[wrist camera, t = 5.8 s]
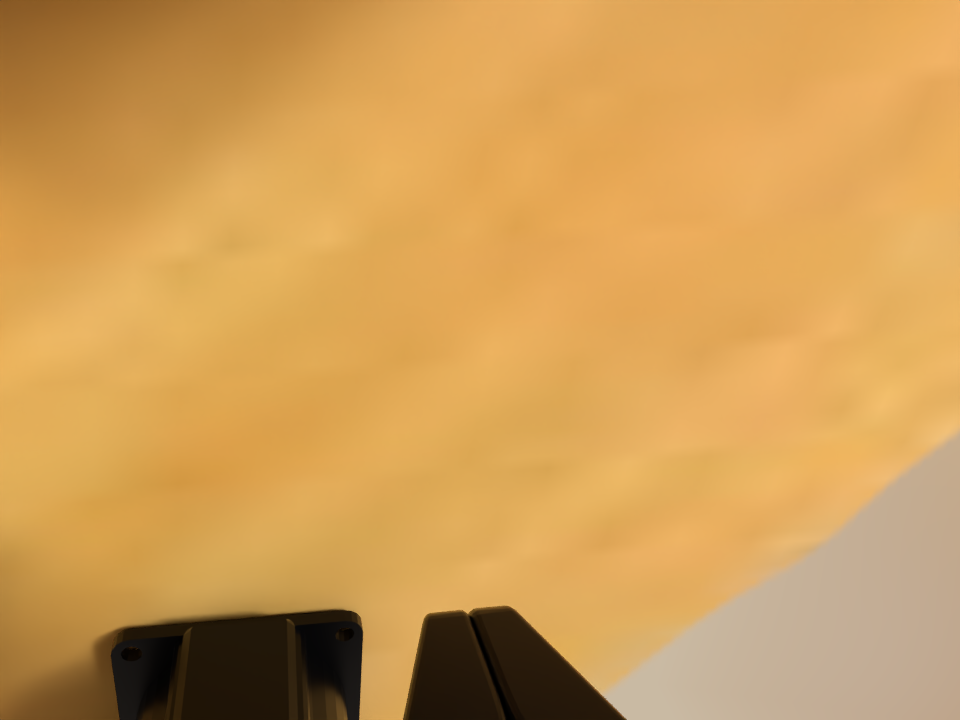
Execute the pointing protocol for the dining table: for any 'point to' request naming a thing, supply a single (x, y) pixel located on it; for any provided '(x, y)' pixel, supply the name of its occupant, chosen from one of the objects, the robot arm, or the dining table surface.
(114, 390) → the dining table surface
